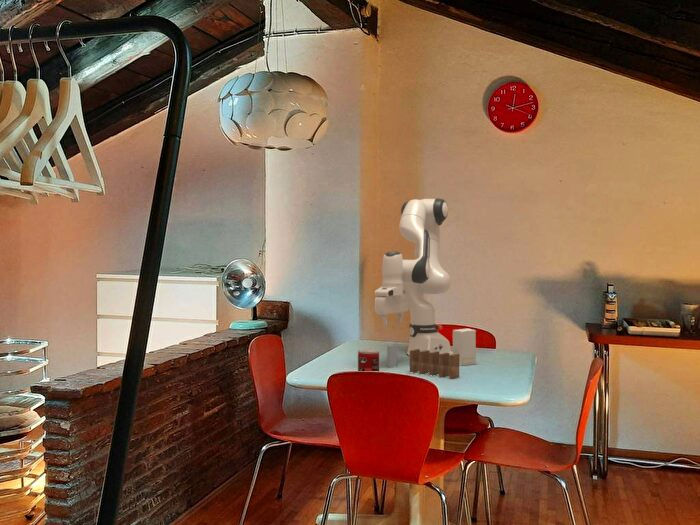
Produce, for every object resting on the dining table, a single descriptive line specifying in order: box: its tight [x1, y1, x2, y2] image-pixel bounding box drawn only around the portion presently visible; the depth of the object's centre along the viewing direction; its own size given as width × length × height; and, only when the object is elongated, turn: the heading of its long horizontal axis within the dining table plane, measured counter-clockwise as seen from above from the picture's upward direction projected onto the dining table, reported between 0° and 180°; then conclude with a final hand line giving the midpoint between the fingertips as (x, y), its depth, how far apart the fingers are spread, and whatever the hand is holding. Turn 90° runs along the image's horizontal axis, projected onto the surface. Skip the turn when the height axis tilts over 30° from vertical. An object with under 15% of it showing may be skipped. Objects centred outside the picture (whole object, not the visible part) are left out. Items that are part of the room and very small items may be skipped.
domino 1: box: [386, 344, 398, 368], centre depth 298 cm, size 2×5×9 cm, turn 142°
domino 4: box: [428, 351, 439, 377], centre depth 280 cm, size 2×5×9 cm, turn 142°
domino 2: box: [409, 349, 420, 373], centre depth 286 cm, size 2×5×9 cm, turn 142°
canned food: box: [357, 348, 380, 372], centre depth 272 cm, size 8×8×11 cm
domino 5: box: [438, 352, 449, 378], centre depth 278 cm, size 2×5×9 cm, turn 142°
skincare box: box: [452, 328, 477, 367], centre depth 303 cm, size 8×6×15 cm
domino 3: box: [418, 350, 430, 375], centre depth 283 cm, size 2×5×9 cm, turn 142°
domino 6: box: [448, 354, 460, 380], centre depth 275 cm, size 2×5×9 cm, turn 142°
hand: (392, 324), depth 297 cm, fingers open, 8 cm apart
